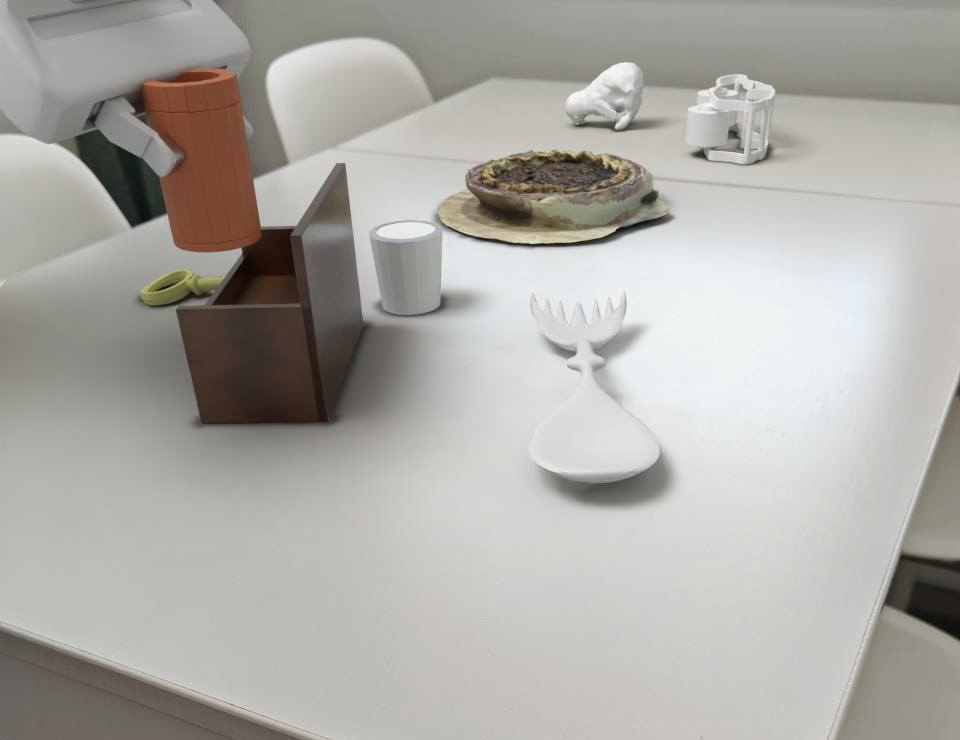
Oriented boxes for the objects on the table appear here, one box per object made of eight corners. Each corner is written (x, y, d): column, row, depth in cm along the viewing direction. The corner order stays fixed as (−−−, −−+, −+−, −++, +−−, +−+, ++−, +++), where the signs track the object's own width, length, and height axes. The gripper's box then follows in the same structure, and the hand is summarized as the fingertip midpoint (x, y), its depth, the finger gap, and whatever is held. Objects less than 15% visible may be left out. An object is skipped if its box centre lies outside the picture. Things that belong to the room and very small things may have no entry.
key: (263, 298, 100) (259, 276, 98) (138, 308, 99) (132, 286, 98) (267, 274, 105) (263, 253, 104) (149, 283, 104) (144, 263, 103)
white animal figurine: (637, 65, 145) (557, 72, 149) (639, 130, 150) (562, 135, 154) (646, 57, 149) (568, 65, 153) (647, 120, 154) (572, 126, 158)
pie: (532, 262, 105) (532, 212, 102) (394, 208, 123) (390, 165, 120) (719, 209, 118) (724, 163, 115) (569, 167, 135) (569, 127, 132)
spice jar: (162, 253, 68) (126, 86, 61) (187, 226, 72) (156, 69, 66) (250, 252, 67) (222, 84, 61) (269, 225, 72) (245, 67, 66)
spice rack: (201, 423, 78) (159, 238, 69) (257, 326, 94) (229, 165, 85) (327, 421, 78) (301, 235, 69) (363, 324, 93) (345, 162, 84)
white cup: (362, 304, 97) (353, 230, 93) (418, 287, 101) (412, 214, 96) (404, 323, 93) (397, 246, 89) (461, 304, 96) (457, 229, 92)
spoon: (626, 323, 91) (628, 285, 89) (665, 505, 66) (670, 458, 64) (527, 326, 91) (527, 288, 89) (529, 507, 66) (528, 460, 64)
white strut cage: (697, 129, 150) (702, 73, 146) (773, 131, 147) (780, 74, 143) (679, 162, 135) (684, 101, 131) (763, 165, 133) (771, 103, 128)
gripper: (142, -4, 73) (276, 152, 76) (-88, 40, 58) (87, 229, 61) (178, -80, 69) (318, 88, 71) (-61, -53, 54) (126, 155, 57)
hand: (210, 154), depth 66 cm, fingers closed on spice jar, 6 cm apart
